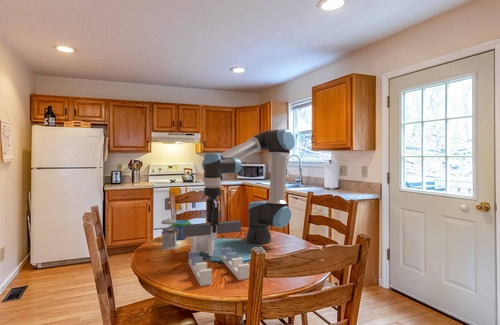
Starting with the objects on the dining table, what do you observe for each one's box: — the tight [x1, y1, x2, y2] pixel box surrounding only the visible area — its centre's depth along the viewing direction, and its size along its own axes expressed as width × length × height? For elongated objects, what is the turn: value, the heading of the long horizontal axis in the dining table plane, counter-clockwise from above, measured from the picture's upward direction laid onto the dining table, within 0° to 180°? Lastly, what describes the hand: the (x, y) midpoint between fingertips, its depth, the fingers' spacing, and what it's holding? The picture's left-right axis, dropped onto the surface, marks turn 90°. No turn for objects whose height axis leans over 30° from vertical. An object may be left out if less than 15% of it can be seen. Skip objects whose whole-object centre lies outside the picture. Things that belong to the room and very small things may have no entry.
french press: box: [159, 201, 179, 251], centre depth 163 cm, size 10×12×25 cm
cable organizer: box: [189, 235, 215, 257], centre depth 151 cm, size 15×11×12 cm
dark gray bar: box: [183, 220, 242, 238], centre depth 136 cm, size 26×4×4 cm, turn 111°
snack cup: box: [169, 219, 192, 241], centre depth 181 cm, size 16×10×10 cm
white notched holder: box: [188, 246, 251, 287], centre depth 129 cm, size 20×26×6 cm
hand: (212, 238), depth 136 cm, fingers closed on dark gray bar, 4 cm apart
